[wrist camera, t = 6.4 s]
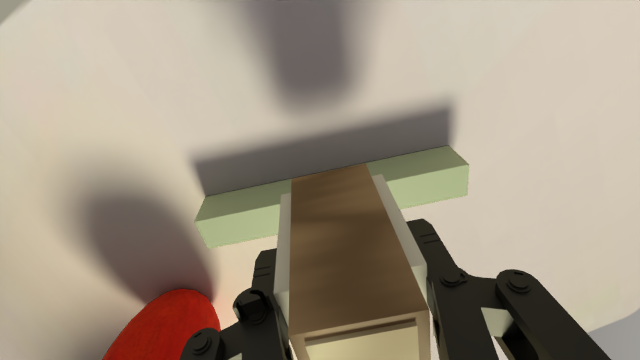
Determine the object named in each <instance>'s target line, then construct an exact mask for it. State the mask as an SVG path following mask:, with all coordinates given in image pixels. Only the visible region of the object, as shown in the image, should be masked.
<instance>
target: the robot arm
mask: <svg viewBox="0 0 640 360" xmlns="http://www.w3.org/2000/svg"><path fill="white" fill-rule="evenodd" d="M371 177H372V179H373V182H374V184H375V186H376V189H377V191H378V193H379V196H380V198H381V200H382V202H383V205H384V207H385V209H386V212H387V214H388V216H389V218H390V221H391V223H392V225H393V228H394V230H395V232H396V234H397V237H398V239H399V241H400V244H401V246H402V248H403V250H404V253H405V255H406V257H407V260H408V262H409V264H410V266H411V269H412V271H413V273H414V276H415V278H416V280H417V282H418V285H419V287H420V289H421V292H422V294H423V296H424V298H425V301H426V303H427V305H428V306H429V308H430V311H431V313H432V315H433V336H435V338H436V343H437V348H438V354H439V359H440V360H499V358H498V355H497V353H496V350H495V347H494V344H493V341H492V338H491V336H494V338H495V339H496V341H497V342H498V344H499V345H500V347H501V349H502V350H503V352H504V353H505V355H506V356H507V358H508V360H611V359H610V358H609V357H608V356H607V355H606V354H605V353H604V351H603V350H602V349H601V348H600V347H599V346H598V345H597V344H596V343H595V342H594V341H593V340H592V339H591V337H589V335H588V334H587V333H586V332H585V331H584V330H583V329H582V328H581V327H580V325H579V324H578V323H577V322H576V321H575V320H574V319H573V318H572V317H571V316H570V315H569V314H568V312H567V311H566V310H565V309H564V308H563V307H562V306H561V305H560V304H559V303H558V302H557V301H556V300H555V298H554V297H553V296H552V295H551V294H550V293H549V292H548V291H547V290H546V289H545V288H544V287H543V285H542V284H541V283H540V282H539V281H538V280H537V279H536V278H534V277H533V276H532V275H530V274H528V273H526V272H524V271H520V270H515V269H511V270H505V271H502V272H500V273H499V274H498V276H497V278H496V279H494V278H481V277H475V276H472V275H469V274H468V273H466V272H465V271H464V270H463V269H461V268H458V266H457V265H456V264H455V262H454V261H453V259H452V257H451V256H450V254H449V252H448V251H447V249H446V247H445V246H444V244H443V242H442V241H441V239H440V238H439V236H438V234H437V233H436V231H435V229H434V228H433V226H432V224H430V223H429V222H427V221H426V220H424V219H418V220H413V221H408V222H406V221H405V219H404V217H403V215H402V213H401V211H400V209H399V207H398V205H397V203H396V201H395V199H394V197H393V195H392V193H391V191H390V189H389V187H388V185H387V183H386V181H385V179H384V177H383V175H382V174H379V175H375V176H371ZM290 225H291V193H287V194H282V195H281V202H280V215H279V228H278V241H277V248H275V249H270V250H265V251H261V252H260V254H259V256H258V257H257V259H256V261H255V268H254V270H255V271H254V274H253V281H252V287H251V288H249V289H247V290H245V291H243V292H242V293H241V294H239V295H238V296H237V298H236V299H235V301H234V303H233V310H234V312H235V314H236V316H237V318H238V320H239V321H238V322H237V323H235V324H233V325H232V326H230V327H228V328H226V329H224V330H222V331H220V332H218V331H217V330H216V329H214V328H204V329H201V330H199V331H197V332H196V333H194V334H193V335H192V336H191V337H190V338H189V339H188V340H187V342H186V344H185V346H184V348H183V351H182V353H181V356H180V359H179V360H293V355H292V350H291V348H290V345H289V337H288V320H289V272H290Z"/></svg>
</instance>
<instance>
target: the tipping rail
mask: <svg viewBox="0 0 640 360" xmlns="http://www.w3.org/2000/svg"><path fill="white" fill-rule="evenodd" d="M363 164H365V163H363ZM358 165H360V164H358ZM353 166H355V165H353ZM366 166H367V168H368V170H369V173H370V175H371V176H375V175H379V174H382V175H383V177H384V179H385V181H386V183H387V185H388V187H389V189H390V191H391V193H392V195H393V197H394V199H395V201H396V203H397V205H398V207H399V209H404V208H409V207H414V206H419V205H423V204H428V203H433V202H438V201H443V200H448V199H453V198H457V197H462V196H467V194H468V175H469V164H468V163H467V162H466V161H465V160H464V159H463V158H462V157H461V156H459V155H458V154H457V153H456V152H455V151H454V150H453V149H452V148H451V147H450V146H449V145H448V146H443V147H438V148H434V149H429V150H424V151H419V152H415V153H410V154H405V155H401V156H396V157H391V158H386V159H382V160H377V161H372V162H368V163H366ZM349 167H350V166H349ZM344 168H345V167H344ZM339 169H340V168H339ZM335 170H336V169H335ZM330 171H331V170H330ZM325 172H326V171H325ZM320 173H321V172H320ZM287 193H291V179H287V180H283V181H278V182H273V183H269V184H264V185H259V186H254V187H250V188H245V189H240V190H236V191H231V192H226V193H221V194H217V195H212V196H207V197H205V199H204V201H203V204H202V206H201V208H200V210H199V213H198V215H197V217H196V219H195V224H196V226H197V228H198V230H199V232H200V234H201V236H202V238H203V240H204V242H205V244H206V246H207V248H208V249H210V248H215V247H220V246H225V245H230V244H235V243H239V242H244V241H249V240H254V239H259V238H264V237H268V236H273V235H278V228H279V215H280V202H281V195H282V194H287Z"/></svg>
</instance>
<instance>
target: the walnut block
mask: <svg viewBox="0 0 640 360" xmlns="http://www.w3.org/2000/svg"><path fill="white" fill-rule="evenodd" d="M288 337H289V339H290V342H291V344H292V347H293V349H294V351H295V354H296V356H297V359H298V360H431V354H430V316H429V308H428V305H427V303H426V301H425V298H424V296H423V294H422V292H421V289H420V287H419V285H418V282H417V280H416V278H415V276H414V273H413V271H412V269H411V266H410V264H409V262H408V260H407V257H406V255H405V253H404V250H403V248H402V246H401V244H400V241H399V239H398V237H397V234H396V232H395V230H394V228H393V225H392V223H391V221H390V218H389V216H388V214H387V212H386V209H385V207H384V205H383V202H382V200H381V198H380V196H379V193H378V191H377V189H376V186H375V184H374V182H373V179H372V177H371V175H370V173H369V170H368V168H367V166H366V163H365V164H360V165H355V166H350V167H345V168H340V169H336V170H331V171H326V172H321V173H316V174H311V175H306V176H302V177H297V178H292V179H291V225H290V272H289V320H288Z"/></svg>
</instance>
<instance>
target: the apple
mask: <svg viewBox="0 0 640 360" xmlns="http://www.w3.org/2000/svg"><path fill="white" fill-rule="evenodd" d="M204 328H214V329H216V330H217V331H218V332H220V331H221V329H220V323H219V319H218V317H217V314H216V312H215V309H214V307H213V306H212V304H211V303H210V301H209V300H208V299H207V297H206V296H204V295H202V294H201V293H199V292H197V291H196V290H187V289H178V290H173V291H168V292H166V293H165V294H163V295H161V296H159V297H157V298H156V299H154V300H153V301H152V302H150V303H149V304H148V305H146V306H145V307H144V308H143V309H142V310H141V311H140V312H139V313H138V314H137V315H136V316H135V317H134V318H133V319H132V320H131V321H130V322H129V323H128V325H127V326H126V327H125V328H124V329H123V331H122V332H121V333H120V334H119V336H118V337H117V338H116V340H115V341H114V342H113V344H112V345H111V347H110V348H109V350H108V351H107V353H106V354H105V356H104V357H103V359H102V360H179V359H180V356H181V353H182V351H183V348H184V346H185V344H186V342H187V340H188V339H189V338H190V337H191V336H192V335H193V334H194V333H196V332H197V331H199V330H201V329H204Z"/></svg>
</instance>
